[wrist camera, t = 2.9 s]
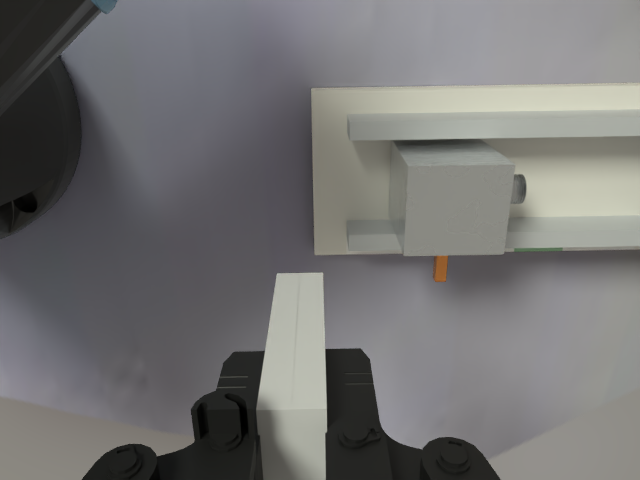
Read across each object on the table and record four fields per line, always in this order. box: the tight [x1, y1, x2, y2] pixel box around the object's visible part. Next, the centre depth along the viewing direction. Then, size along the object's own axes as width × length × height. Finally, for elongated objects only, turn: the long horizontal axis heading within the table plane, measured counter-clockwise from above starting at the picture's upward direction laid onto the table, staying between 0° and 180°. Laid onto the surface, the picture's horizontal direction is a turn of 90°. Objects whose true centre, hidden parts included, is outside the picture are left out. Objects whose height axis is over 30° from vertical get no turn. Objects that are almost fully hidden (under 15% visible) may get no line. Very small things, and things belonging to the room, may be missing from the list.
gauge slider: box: [388, 139, 527, 282], centre depth 29 cm, size 7×7×6 cm
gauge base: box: [311, 83, 640, 255], centre depth 29 cm, size 24×10×8 cm, turn 91°
